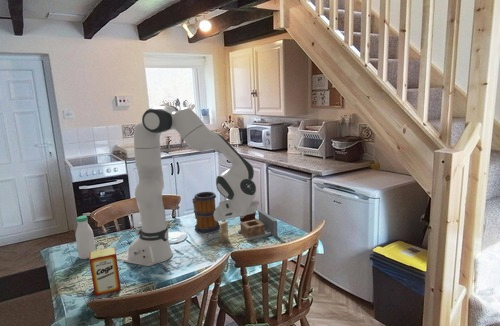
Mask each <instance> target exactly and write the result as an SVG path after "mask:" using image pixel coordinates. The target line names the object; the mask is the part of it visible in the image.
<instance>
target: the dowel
mask: <svg viewBox="0 0 500 326" xmlns="http://www.w3.org/2000/svg"><path fill="white" fill-rule="evenodd" d="M219 225H220V229H219V233H220V236H219V237H220V242H221V243H228V242H229V228H228V226H229V225H228V221H227V220H226V221H225V222H222V221H219Z"/></svg>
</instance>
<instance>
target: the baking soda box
mask: <svg viewBox="0 0 500 326" xmlns="http://www.w3.org/2000/svg"><path fill="white" fill-rule="evenodd" d="M88 262H89V266H90V272H91V280H92V286H93V293H94V297H98V296H103V295H107V294H110V293H115V292H118V290H119V291H121V290H122V288H121V287H122V286H121V281H120V280H121V279H120V273H119V266H118V265H119V264H118V259H117V250H116V246H114V247H109V248H104V249H102V248H101V249H97V250H96V251H93V252H90V254H89V258H88ZM114 291H115V292H114ZM106 293H107V294H106Z"/></svg>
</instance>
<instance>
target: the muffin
mask: <svg viewBox="0 0 500 326" xmlns="http://www.w3.org/2000/svg"><path fill="white" fill-rule="evenodd" d="M256 214H257V211H256V212H255V213H253V214H248V215H246V216H244V218H240V217H239V220H240V222H246V221H250V220H255V219H256V216H257V215H256Z"/></svg>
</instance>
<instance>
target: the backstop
mask: <svg viewBox="0 0 500 326" xmlns="http://www.w3.org/2000/svg"><path fill="white" fill-rule="evenodd" d="M257 212H258V220H259V221H261V222H262V223H263V224H265V233H264V234H260V235H256V236H251V237H247V238H246V237H245V241H252V240H255V239H260V238H264V237H269V236H272V237H273V238H277V237H278V220H277V219H275V218H274V217H273V216H271V215H269V214H268V213H267V212H265V211H264V210H263V209H260V210H258V211H257ZM237 232H238V234H241V229H238V231H237Z"/></svg>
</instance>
